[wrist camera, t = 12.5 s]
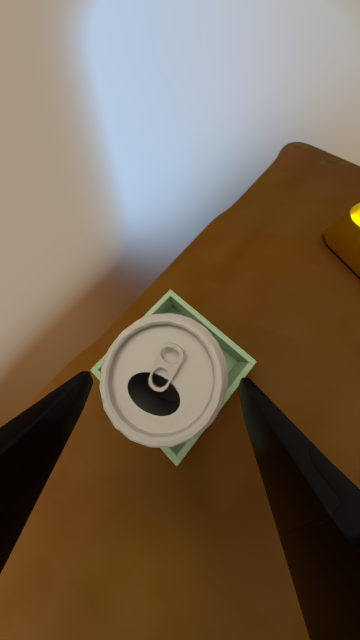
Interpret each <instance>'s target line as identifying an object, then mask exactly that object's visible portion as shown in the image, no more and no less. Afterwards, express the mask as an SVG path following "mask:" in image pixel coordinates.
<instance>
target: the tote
mask: <svg viewBox="0 0 360 640" xmlns="http://www.w3.org/2000/svg"><path fill="white" fill-rule="evenodd" d="M165 313H174V314H178V315H182V316H185V317H189V318H191V319H193V320H194V321H196V322H198V323H199V324H201V325H202V326H204V327H206V329H207V330H208V331H209V332H210V333H211V335H212V336H213V337H214V338H215V339H216V340H217V342H218V343H219V346H220V348H221V350H222V353H223V355H224V357H225V360H226V367H227V376H228V384H227V389H226V395H225V400H224V403H223V405H224V404H225V403H226V401H227V400H228V399H229V397H230V396H231V395H232V393H233V392H234V391H235V390H236V388H237V387H238V386H239V383H240V380H241V378H245V376H246V375H247V374H248V372H249V371H250V370H251V369H252V367H253V366H254V365H255V363H256V362H257V361H256V360H254V359H253V358H252V357H251V356H250V355H248V354H247V353H246V352H245V351H244V350H242V349H241V348H240V347H239V346H238V345H236V344H235V343H234V342H233V341H232V340H230V339H229V338H228V337H227V336H226V335H224V334H223V333H222V332H221V331H220V330H218V329H217V328H216V327H215V326H214V325H212V324H211V323H210V322H209V321H208V320H206V319H205V318H204V317H203V316H202V315H200V314H199V313H198V312H197V311H196V310H194V309H193V308H192V307H191V306H190V305H188V304H187V303H186V302H185V301H184V300H182V299H181V298H180V297H179V296H178V295H176V294H175V293H174V292H173V291H172V290H169V291H168V292H167V293H166V294H165V295H164V296H163V297H162V298H161V299H160V300H159V301H158V302H157V303H156V304H155V305H154V306H153V307H152V308H151V309H150V310H149V311H148V312H147V313H146V314H145V315H144V316H143V317H142V318H145V317H148V316H150V315H153V314H165ZM142 318H141V319H142ZM106 354H107V353H106ZM106 354H105V355H104V356H103V357H102V359H101V360H100V361H99V362H98V363H97V364H96V365H95V366H94V367H93V368H92V369H91V371H92V373H93V374H94V375H95V376H96V377H97V378H98V379H99V380H100V376H101V367H102V364H103V362H104V359H105V357H106ZM223 405H222V407H223ZM222 407H221V408H222ZM203 432H204V431H203ZM203 432H202V433H203ZM202 433H201V434H202ZM201 434H200V435H199V436H198V437H196V438H194V439H191V440H189V441H187V442H184V443H182V444H179V445H177V446H174V447H161V448H160V449H161V450H162V451H163V452H164V453H165V454H166V455H167V456H168V458H169V459H170V460H171V461H172V462H173V463H174V464H175V465H176V466H178V464H179V463H180V462H181V460H182V459H183V458H184V457H185V455H186V454H187V453H188V451H189V450H190V449H191V447H192V446H193V445H194V443H195V442H196V441H197V439H198V438H199V437H200V436H201Z"/></svg>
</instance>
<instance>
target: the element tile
mask: <svg viewBox="0 0 360 640" xmlns="http://www.w3.org/2000/svg"><path fill="white" fill-rule="evenodd" d="M324 240H325V242H326V244H327V245H328V246H329V247H330V248H331V249H332V250H333V251H334V252H335V253H336V254H337V255H338V256H339V257H340V258H341V259H342V260H343V261H344V262H345V263H346V264H347V265H348V266H349V267H350V268H351V269H352V270H353V271H354V272H355V273H356V274H357V275H358V276H359V277H360V203H358V204H356V205H355V206H353V207H352V208H351V209H350V210H349V211H348V212H346V213H345V214H344V215H343V216H342V217H341V218H340V219H339V220H338V221H337V222H335V223H334V224H333V225H332V226H331V227H330V228H329V229H328V230H327V231H326V232H325V234H324Z"/></svg>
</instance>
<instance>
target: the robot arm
mask: <svg viewBox="0 0 360 640" xmlns="http://www.w3.org/2000/svg"><path fill="white" fill-rule="evenodd" d="M92 385H93V379H92V376H91V374H90V372H88V371H82V372H80V373H79V374H77V375H76V376H74V377H73V378H71V379H70V380H68V381H67V382H66V383H64V384H63V385H61V386H60V387H58V388H57V389H55V390H54V391H53V392H51V393H50V394H48V395H47V396H45V397H44V398H42V399H41V400H39V401H38V402H37V403H35V404H34V405H32V406H31V407H29V408H28V409H26V410H25V411H24V412H22V413H21V414H19V415H18V416H16V417H15V418H13V419H12V420H11V421H9V422H8V423H6V424H5V425H4V426H2V427H1V428H0V573H1V571H2V569H3V567H4V565H5V564H6V562H7V560H8V558H9V556H10V554H11V552H12V550H13V548H14V546H15V544H16V542H17V540H18V538H19V536H20V534H21V532H22V530H23V528H24V526H25V524H26V522H27V519H28V518H29V516H30V514H31V512H32V510H33V508H34V506H35V504H36V502H37V500H38V498H39V496H40V494H41V492H42V490H43V488H44V486H45V484H46V482H47V480H48V478H49V476H50V474H51V472H52V470H53V468H54V466H55V464H56V462H57V460H58V458H59V456H60V454H61V452H62V450H63V448H64V446H65V444H66V442H67V440H68V438H69V436H70V434H71V432H72V430H73V429H74V427H75V425H76V423H77V421H78V419H79V417H80V415H81V413H82V410H83V408H84V406H85V403H86V401H87V398H88V396H89V393H90V390H91V388H92ZM238 390H239V396H240V401H241V406H242V411H243V416H244V420H245V424H246V427H247V430H248V434H249V437H250V440H251V444H252V447H253V450H254V454H255V457H256V460H257V463H258V467H259V470H260V473H261V477H262V480H263V483H264V487H265V490H266V493H267V497H268V500H269V503H270V507H271V510H272V513H273V517H274V520H275V523H276V527H277V530H278V533H279V536H280V540H281V544H282V547H283V550H284V553H285V557H286V560H287V563H288V567H289V570H290V573H291V577H292V580H293V583H294V587H295V590H296V593H297V597H298V600H299V603H300V607H301V610H302V613H303V617H304V620H305V623H306V627H307V630H308V633H309V637H310V640H360V489H359V488H358V487H357V486H356V485H355V484H354V483H352V482H351V481H350V480H349V479H348V478H347V477H346V476H345V475H344V474H343V473H342V472H341V471H340V470H339V469H338V468H337V467H335V466H334V465H333V464H332V463H331V462H330V461H329V460H328V459H327V458H326V457H325V456H324V455H323V454H322V453H321V452H320V451H319V450H318V449H317V448H316V447H315V446H314V444H313V443H312V442H311V441H309V440H308V438H307V437H306V436H305V435H304V434H303V433H302V432H301V431H300V430H299V429H298V428H297V427H296V426H295V425H294V424H293V423H292V422H291V421H290V420H289V419H288V418H287V417H286V416H285V415H284V414H283V413H282V411H281V410H280V409H279V408H278V407H277V406H276V405H275V404H274V403H273V402H272V401H271V400H270V399H269V398H268V397H267V396H266V395H265V394H264V393H263V392H262V391H261V390H260V389H259V388H258V387H257V386H256V385H255V384H254V383H253V381H252V380H251V379H249V378H241V380H240V383H239V387H238Z"/></svg>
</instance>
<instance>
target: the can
mask: <svg viewBox="0 0 360 640" xmlns="http://www.w3.org/2000/svg"><path fill="white" fill-rule="evenodd" d="M227 384H228V376H227V367H226V360H225V357H224V355H223V353H222V350H221V348H220V346H219V343H218V342H217V340H216V339H215V338H214V337H213V336H212V335H211V333H210V332H209V331H208V330H207V329H206V327H204V326H202V325H201V324H199V323H198V322H196V321H194V320H193V319H191V318H189V317H185V316H182V315H178V314H174V313H165V314H153V315H150V316H148V317H145V318H142V319H139V320H137V321H136V322H134V323H133V324H132V325H130V326H129V327H128V328H126V329H125V330H123V331H122V333H121V334H120V335H119V336H118V337H117V339H116V340H115V341H114V343H113V344H112V345H111V346H110V348H109V349H108V352H107V354H106V357H105V359H104V362H103V364H102V367H101V376H100V387H99V388H100V393H101V398H102V403H103V407H104V410H105V412H106V413H107V415H108V417H109V418H110V420H111V422H112V424H113V425H114V427H115V428H116V429H117V430H119V431H120V432H121V433H122V434H123V435H125V436H126V437H127V438H128V439H129V440H130V441H133V442H136V443H139V444H141V445H144V446H147V447H150V448H161V447H174V446H177V445H179V444H182V443H184V442H187V441H189V440H191V439H194V438H196V437H198V436H199V435H200V434H201V433H202V432H203V431H204V430H205V429H206V428H207V427H208V426H210V425H211V424H212V423H213V422H214V420H215V418H216V416H217V414H218V413H219V411H220V409H221V407H222V405H223V403H224V400H225V395H226V389H227Z"/></svg>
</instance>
